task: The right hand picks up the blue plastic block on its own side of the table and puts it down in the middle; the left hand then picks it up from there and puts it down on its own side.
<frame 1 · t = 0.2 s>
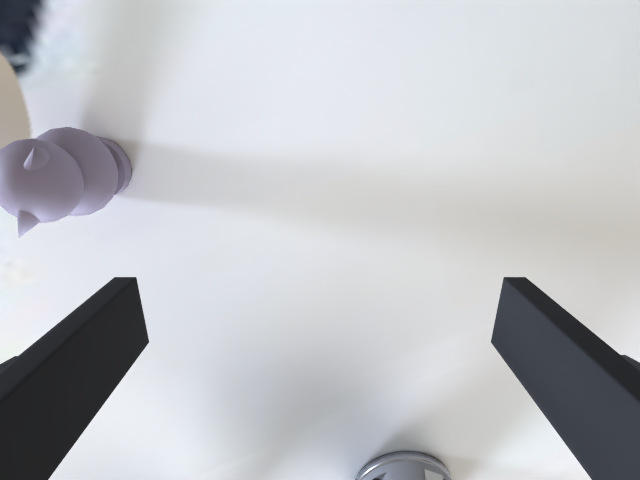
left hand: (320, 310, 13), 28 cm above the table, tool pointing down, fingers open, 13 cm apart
grey owl figurine: (102, 165, 39), on the table
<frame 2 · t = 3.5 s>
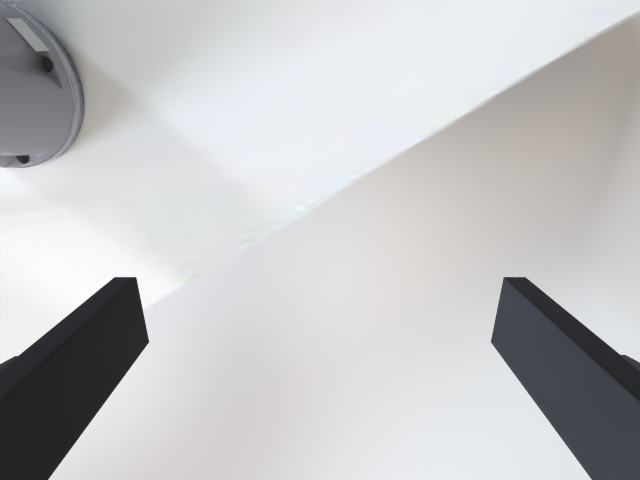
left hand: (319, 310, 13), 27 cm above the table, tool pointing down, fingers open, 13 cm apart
when the right hand's fingers open (4 cm above the table, at t = 7.9 s): block drops 1 cm, on the table.
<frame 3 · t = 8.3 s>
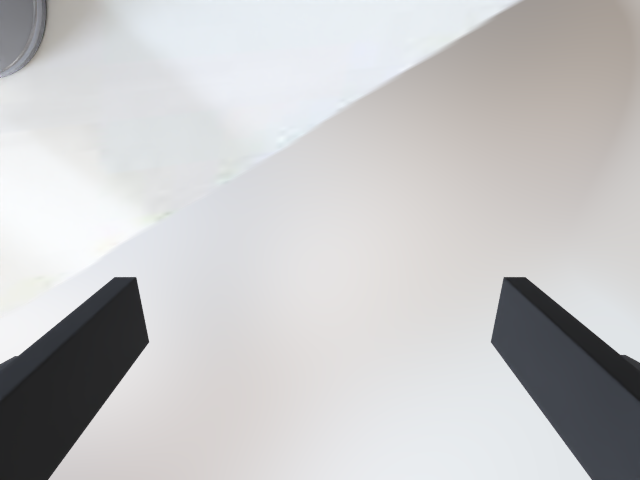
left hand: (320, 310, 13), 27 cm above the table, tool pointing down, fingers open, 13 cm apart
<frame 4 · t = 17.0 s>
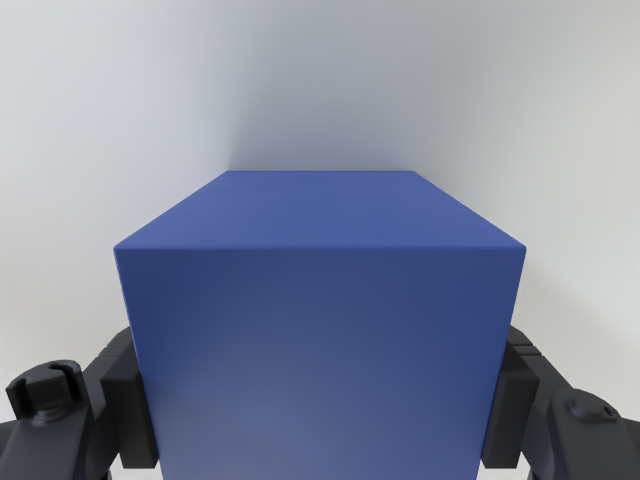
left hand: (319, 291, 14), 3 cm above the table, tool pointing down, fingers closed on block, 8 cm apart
block: (319, 263, 17), on the table, touching left hand
when the left hand's fingers open (4 cm above the table, at t = 30.3 s): block drops 1 cm, on the table.
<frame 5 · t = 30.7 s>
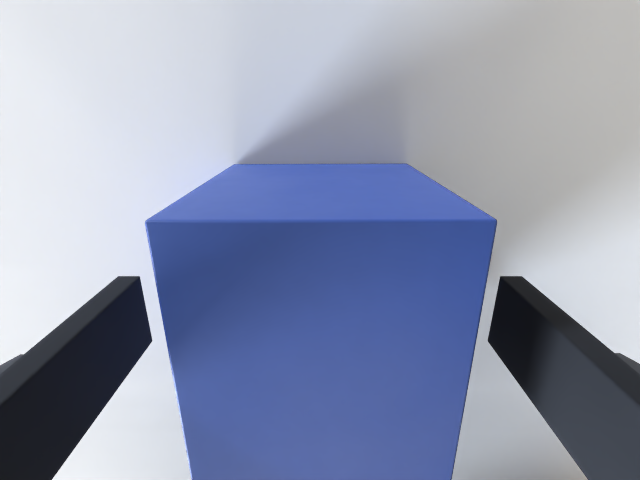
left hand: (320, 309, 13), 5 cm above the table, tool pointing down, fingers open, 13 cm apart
block: (320, 250, 18), on the table
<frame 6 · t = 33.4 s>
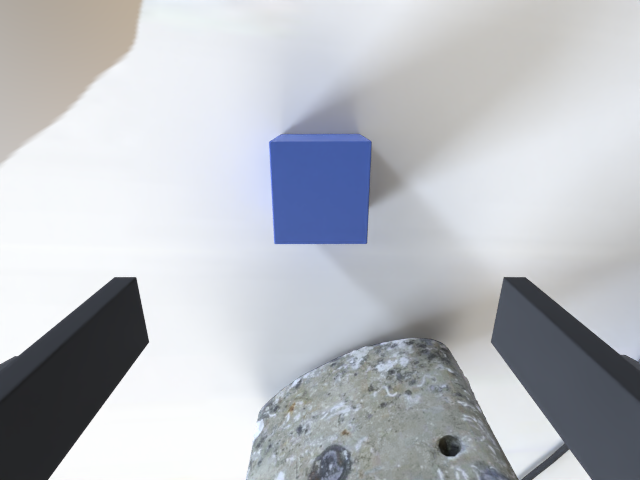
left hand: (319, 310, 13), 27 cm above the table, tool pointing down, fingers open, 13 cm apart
block: (320, 176, 38), on the table
concrete block: (351, 376, 47), on the table
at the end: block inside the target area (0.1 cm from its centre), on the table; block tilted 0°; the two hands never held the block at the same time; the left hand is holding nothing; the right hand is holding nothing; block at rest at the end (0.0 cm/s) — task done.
